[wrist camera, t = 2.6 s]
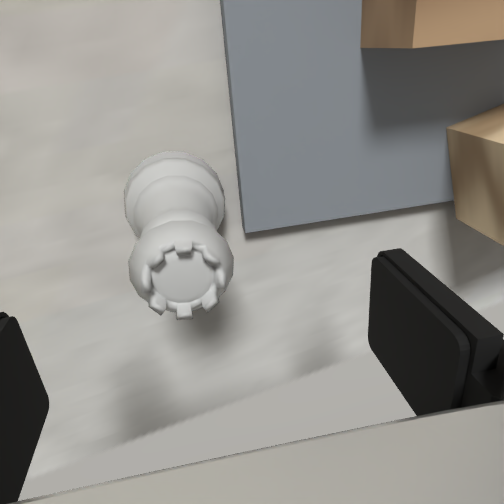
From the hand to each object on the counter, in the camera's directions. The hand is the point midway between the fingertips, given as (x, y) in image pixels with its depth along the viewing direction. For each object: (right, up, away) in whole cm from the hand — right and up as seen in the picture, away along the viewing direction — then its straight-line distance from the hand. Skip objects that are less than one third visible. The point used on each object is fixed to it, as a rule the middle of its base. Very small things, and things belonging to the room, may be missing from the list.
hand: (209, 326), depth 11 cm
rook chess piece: (-3, +5, +8) cm, 10 cm away
